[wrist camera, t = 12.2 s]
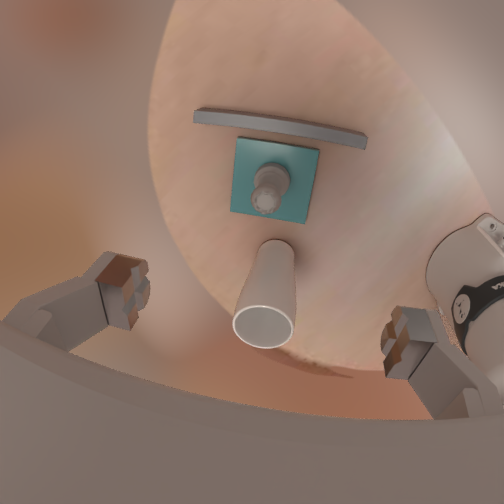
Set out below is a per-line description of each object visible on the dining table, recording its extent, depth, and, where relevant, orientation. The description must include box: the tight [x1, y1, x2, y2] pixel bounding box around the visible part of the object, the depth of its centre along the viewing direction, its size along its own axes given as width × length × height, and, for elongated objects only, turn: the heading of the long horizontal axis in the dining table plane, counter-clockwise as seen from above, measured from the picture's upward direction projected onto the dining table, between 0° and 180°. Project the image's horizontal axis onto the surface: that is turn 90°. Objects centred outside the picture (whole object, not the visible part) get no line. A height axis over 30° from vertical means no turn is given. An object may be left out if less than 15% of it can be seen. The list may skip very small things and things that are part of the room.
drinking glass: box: [232, 240, 296, 348], centre depth 39 cm, size 7×7×15 cm
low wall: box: [193, 108, 368, 150], centre depth 35 cm, size 20×2×3 cm, turn 84°
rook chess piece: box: [250, 163, 290, 215], centre depth 35 cm, size 4×4×8 cm
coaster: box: [230, 137, 319, 224], centre depth 39 cm, size 10×10×1 cm
